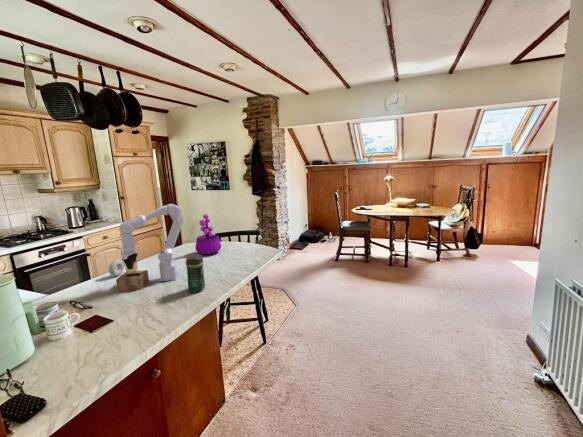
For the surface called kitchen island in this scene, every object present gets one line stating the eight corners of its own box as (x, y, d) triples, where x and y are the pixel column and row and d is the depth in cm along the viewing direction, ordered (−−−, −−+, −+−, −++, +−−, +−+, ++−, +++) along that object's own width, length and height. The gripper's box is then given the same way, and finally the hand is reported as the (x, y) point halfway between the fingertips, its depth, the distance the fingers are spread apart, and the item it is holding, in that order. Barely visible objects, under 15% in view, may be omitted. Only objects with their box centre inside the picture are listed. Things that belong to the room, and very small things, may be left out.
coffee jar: (202, 292, 149) (199, 258, 146) (186, 293, 149) (183, 259, 145) (206, 285, 159) (204, 252, 155) (192, 286, 158) (189, 253, 155)
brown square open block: (148, 280, 168) (147, 270, 167) (141, 289, 156) (140, 277, 155) (126, 282, 166) (125, 271, 165) (117, 291, 154) (116, 279, 153)
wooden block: (137, 269, 161) (136, 260, 160) (135, 271, 158) (134, 262, 157) (128, 270, 160) (126, 261, 160) (125, 271, 158) (124, 263, 157)
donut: (113, 279, 172) (110, 263, 170) (108, 278, 173) (106, 262, 171) (126, 273, 181) (124, 257, 180) (121, 272, 182) (119, 257, 180)
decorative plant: (207, 258, 207) (204, 216, 201) (190, 254, 217) (186, 215, 211) (226, 251, 222) (223, 212, 217) (210, 248, 232) (207, 211, 227)
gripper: (125, 241, 163) (128, 264, 166) (114, 248, 149) (118, 273, 151) (139, 240, 164) (142, 263, 167) (129, 247, 150) (132, 272, 152)
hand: (131, 268), depth 159 cm, fingers closed on wooden block, 3 cm apart
